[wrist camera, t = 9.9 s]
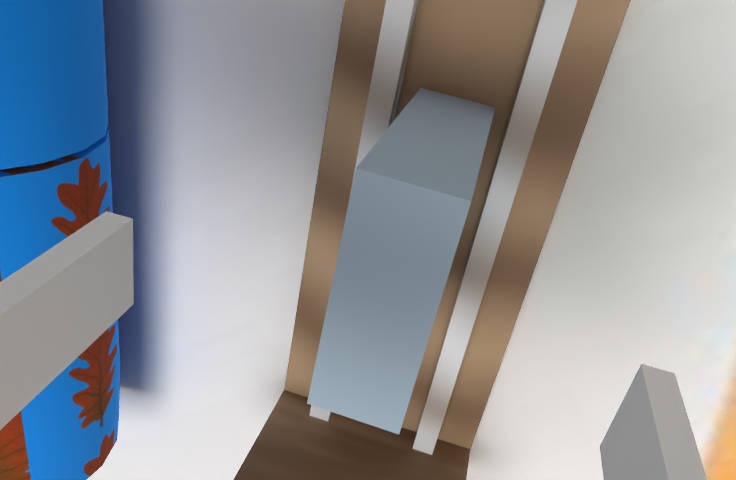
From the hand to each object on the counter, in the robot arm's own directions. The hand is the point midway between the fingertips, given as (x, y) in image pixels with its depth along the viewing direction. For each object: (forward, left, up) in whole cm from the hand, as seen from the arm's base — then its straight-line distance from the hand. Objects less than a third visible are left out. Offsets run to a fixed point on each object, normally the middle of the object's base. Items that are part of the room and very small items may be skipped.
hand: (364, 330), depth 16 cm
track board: (+2, 0, -13) cm, 13 cm away
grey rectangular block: (0, 0, -12) cm, 12 cm away
